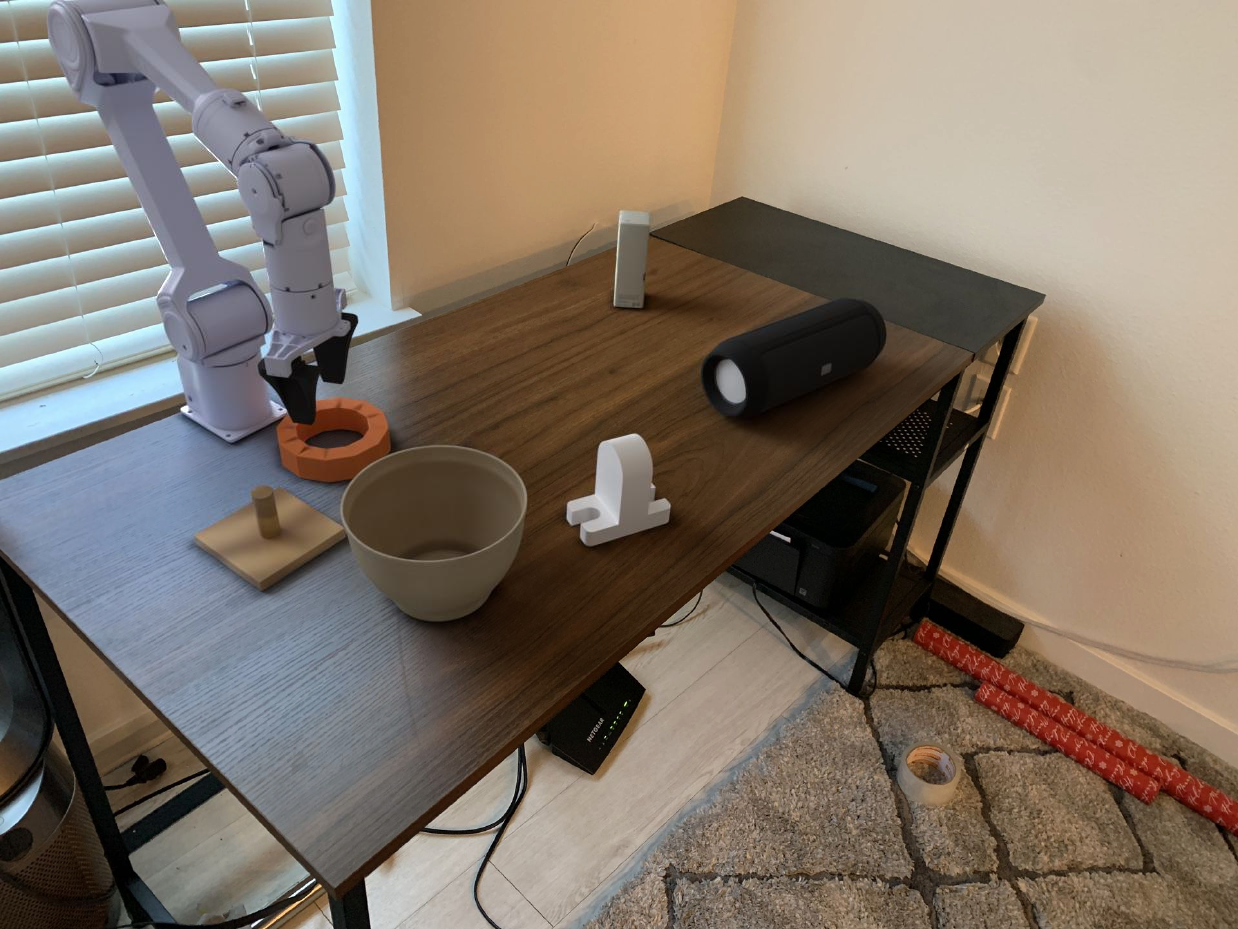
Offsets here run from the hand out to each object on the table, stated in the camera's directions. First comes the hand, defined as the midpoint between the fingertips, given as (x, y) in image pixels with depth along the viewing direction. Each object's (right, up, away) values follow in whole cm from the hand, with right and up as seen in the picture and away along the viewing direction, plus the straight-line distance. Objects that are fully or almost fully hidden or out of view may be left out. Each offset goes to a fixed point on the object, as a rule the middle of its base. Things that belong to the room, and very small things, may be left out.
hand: (319, 401), depth 95 cm
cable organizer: (+30, -12, +4) cm, 33 cm away
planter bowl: (+14, -18, -6) cm, 23 cm away
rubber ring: (-1, -5, +9) cm, 11 cm away
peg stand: (-4, -14, -3) cm, 15 cm away
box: (+32, +18, +43) cm, 56 cm away
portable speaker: (+53, +3, +27) cm, 59 cm away
